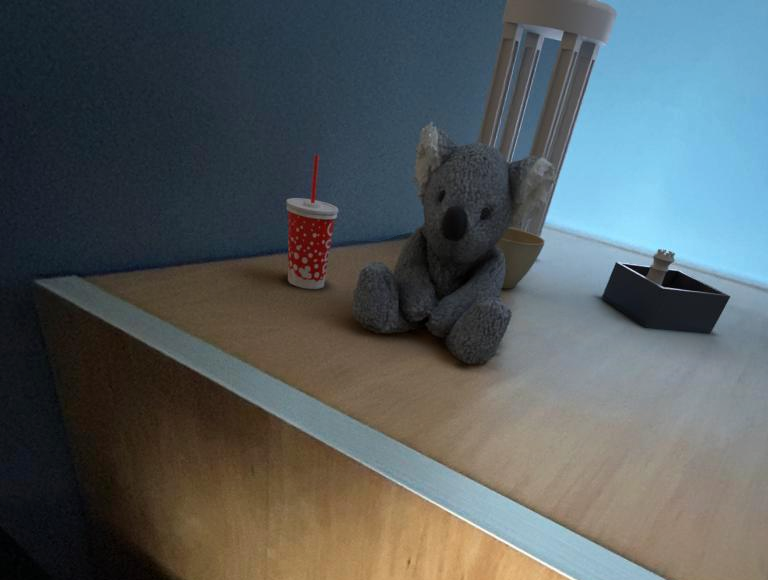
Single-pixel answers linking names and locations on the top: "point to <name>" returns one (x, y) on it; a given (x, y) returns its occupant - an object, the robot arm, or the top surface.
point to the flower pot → (518, 254)
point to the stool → (574, 29)
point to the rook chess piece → (660, 266)
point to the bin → (664, 299)
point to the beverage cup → (309, 238)
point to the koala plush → (455, 247)
